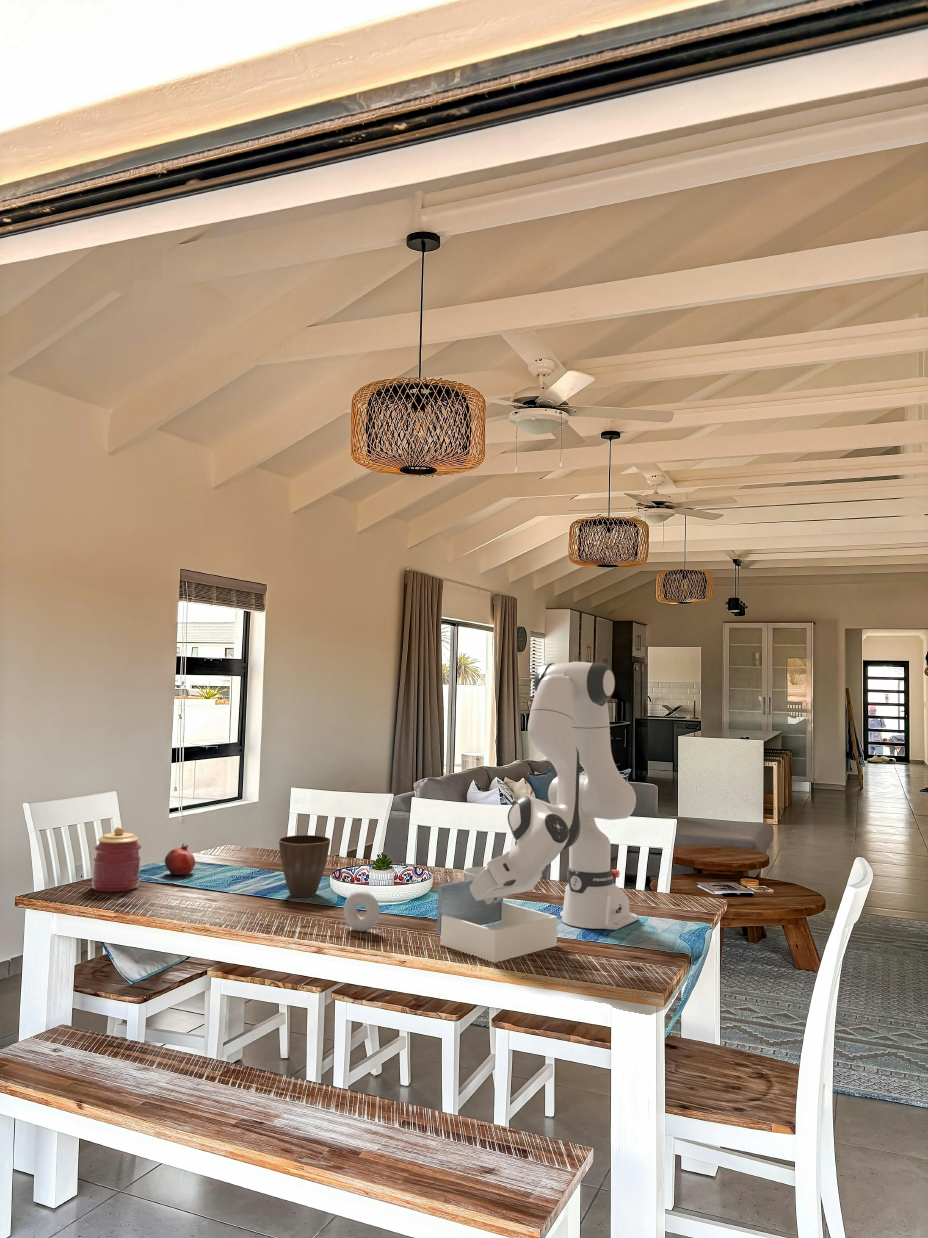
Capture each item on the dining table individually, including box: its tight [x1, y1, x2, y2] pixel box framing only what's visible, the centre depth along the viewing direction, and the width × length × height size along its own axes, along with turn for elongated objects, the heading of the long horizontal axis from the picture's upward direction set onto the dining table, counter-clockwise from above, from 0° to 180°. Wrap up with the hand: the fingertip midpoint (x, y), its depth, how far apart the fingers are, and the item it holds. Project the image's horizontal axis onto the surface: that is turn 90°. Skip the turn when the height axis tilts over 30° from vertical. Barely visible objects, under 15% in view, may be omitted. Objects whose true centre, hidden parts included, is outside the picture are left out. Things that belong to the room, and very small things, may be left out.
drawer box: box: [440, 901, 558, 964], centre depth 216 cm, size 18×22×7 cm
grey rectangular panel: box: [436, 878, 504, 936], centre depth 224 cm, size 2×22×12 cm, turn 134°
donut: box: [343, 890, 381, 932], centre depth 224 cm, size 10×4×10 cm, turn 67°
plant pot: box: [278, 834, 331, 898], centre depth 261 cm, size 15×15×16 cm
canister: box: [91, 826, 142, 893], centre depth 262 cm, size 13×13×18 cm
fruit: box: [164, 842, 196, 877], centre depth 282 cm, size 9×10×10 cm
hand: (489, 901), depth 219 cm, fingers closed
